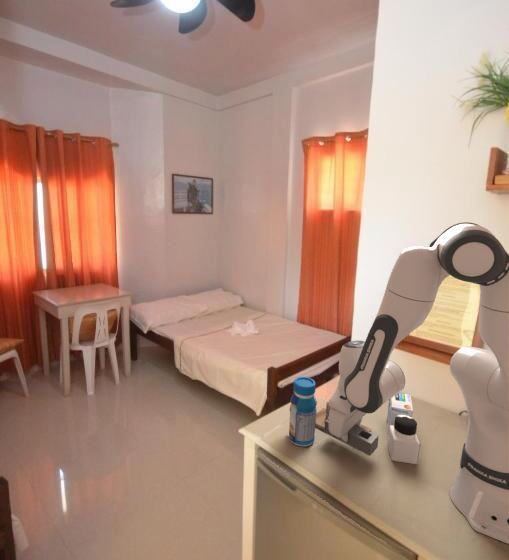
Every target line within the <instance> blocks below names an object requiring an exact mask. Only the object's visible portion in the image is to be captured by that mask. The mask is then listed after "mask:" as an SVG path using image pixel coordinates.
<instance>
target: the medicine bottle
mask: <svg viewBox="0 0 509 560" xmlns="http://www.w3.org/2000/svg"><path fill="white" fill-rule="evenodd" d="M417 428H418V422H417V421H416V419H415V418H413V417H412V418H411V417H409V416H406V415H398V416H396V417H395V422H394V426H392V425H390V427H389V435H388V434H387V436H388V437H387V448H388V451H389V455H390V458H391V461H392V462H398V463H404V464H406V463H407V464H411V465H418V461H419V454H420V447H421V443H420V440H419V438H418V436H417Z"/></svg>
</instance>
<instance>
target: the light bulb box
mask: <svg viewBox="0 0 509 560" xmlns="http://www.w3.org/2000/svg"><path fill="white" fill-rule="evenodd" d="M413 408H414V407H413V402H412V396H411V394H408V393H403V392H399V393H398V394H396V395H395V396H393V397H392V398H391V399H390V400H388V408H387V416H386V428H387V429H386V430H387V432H386V433H387V436H388V435H389V427H390V425H392V426H394V422H395V417H396V416H398V415H406V416H409V417H411V418H413V414H414V409H413Z"/></svg>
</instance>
